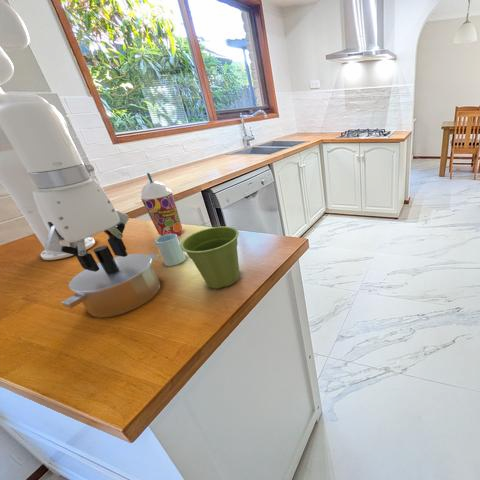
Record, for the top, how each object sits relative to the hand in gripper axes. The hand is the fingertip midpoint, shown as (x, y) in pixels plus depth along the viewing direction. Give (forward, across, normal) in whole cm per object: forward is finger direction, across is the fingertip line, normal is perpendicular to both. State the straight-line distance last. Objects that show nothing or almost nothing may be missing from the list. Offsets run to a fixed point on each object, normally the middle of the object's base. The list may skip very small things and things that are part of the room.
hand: (107, 261), depth 61 cm
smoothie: (+9, -28, -18) cm, 35 cm away
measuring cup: (+9, -15, -2) cm, 18 cm away
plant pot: (+9, -11, +18) cm, 23 cm away
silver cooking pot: (+9, 0, 0) cm, 9 cm away
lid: (+3, 0, 0) cm, 3 cm away
